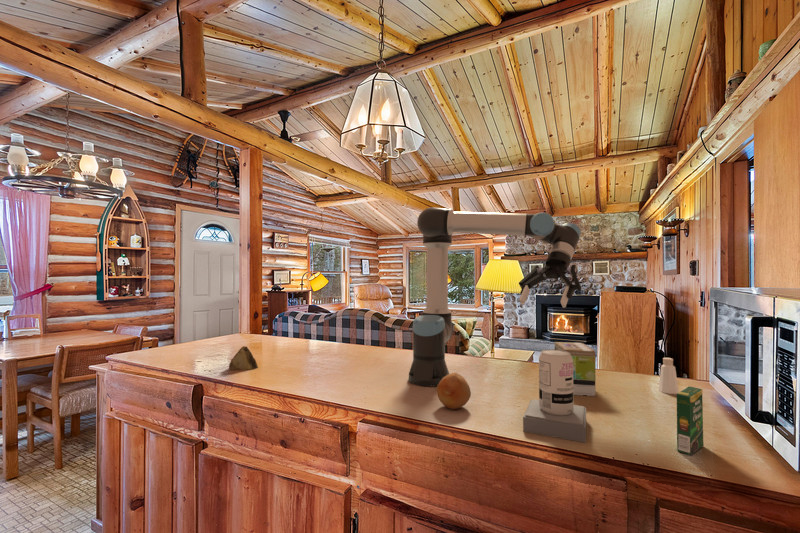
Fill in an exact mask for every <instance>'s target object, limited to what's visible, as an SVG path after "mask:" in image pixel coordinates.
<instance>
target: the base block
mask: <svg viewBox="0 0 800 533" xmlns="http://www.w3.org/2000/svg"><path fill="white" fill-rule="evenodd" d="M528 403H529V404H528V405H527V407H526V410H525V411H524V414H523V416H522V425H523V426H522V431H523V432H525V433H531V434H535V435H540V436H541V435H542V436H547V437H550V438H551V437H552V438H553V437H554V438H557V439H563V440H568V441H569V440H570V441H574V442H577V443H578V442H580V443H584V444H586V443H587V439H586V438H587V407H585V406H583V405H576V404H574V411H573V412H571V414H569V415H563V416H560V415H553V414H549V413H546V412H544V411H543V410H542V409H541V408H540V406H539V399H535V398H532V399H530V401H529V402H528Z"/></svg>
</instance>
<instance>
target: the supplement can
mask: <svg viewBox="0 0 800 533" xmlns="http://www.w3.org/2000/svg"><path fill="white" fill-rule="evenodd" d="M538 391H539V392H538V397H539V398H538V400H539V406H540V408H541V409H542V410H543V411H544V412H546V413H549V414H553V415H560V416H563V415H569V414H571V412H573V411H574V405H575V403H574V395H573V358H572V356H571V355H570V353H569V352H567V351H562V350H555V349H543V350H541V352H540V355H539V356H538Z"/></svg>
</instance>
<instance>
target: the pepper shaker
mask: <svg viewBox="0 0 800 533" xmlns="http://www.w3.org/2000/svg"><path fill="white" fill-rule="evenodd" d="M662 363H663V364H661V365H660V371H659V372H660V373H659V384H658V391H659V392H660V393H663V394H668V395H676V394H677V393H679V392H680V391H679V386H678V384H679V383H678V378H677V370H676V366H675V365H674V358H671V357H663V358H662Z"/></svg>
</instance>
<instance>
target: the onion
mask: <svg viewBox="0 0 800 533" xmlns="http://www.w3.org/2000/svg"><path fill="white" fill-rule="evenodd" d="M435 390H436V394H437V397H438V400H439V402H440V403H441V404H442V405H443V406H444V407H445V408H449V409H450V410H458V409H460V408H462V407H464V406H465V405H466V404H467V403H468V402H469V401H470V398H471V395H472V391H471V388H470V385H469V383H468V381H467V380H466V379H465V377H463V376H462V375H461V374H459V373H457V372H451V373H449V374H448V375H446V376H445V377H443V378H442V380H441V381H440V382H439V384H438V386H436V389H435Z"/></svg>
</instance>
